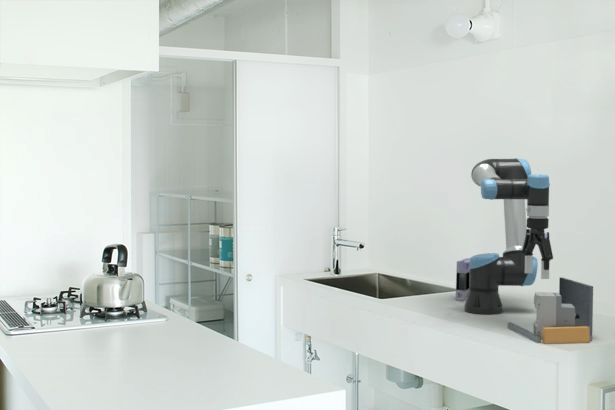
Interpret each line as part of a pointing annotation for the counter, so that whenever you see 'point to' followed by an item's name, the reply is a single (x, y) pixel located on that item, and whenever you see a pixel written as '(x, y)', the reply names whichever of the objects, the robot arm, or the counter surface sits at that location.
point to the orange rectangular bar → (566, 334)
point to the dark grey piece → (571, 294)
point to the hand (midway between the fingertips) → (536, 276)
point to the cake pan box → (462, 279)
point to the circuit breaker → (552, 312)
